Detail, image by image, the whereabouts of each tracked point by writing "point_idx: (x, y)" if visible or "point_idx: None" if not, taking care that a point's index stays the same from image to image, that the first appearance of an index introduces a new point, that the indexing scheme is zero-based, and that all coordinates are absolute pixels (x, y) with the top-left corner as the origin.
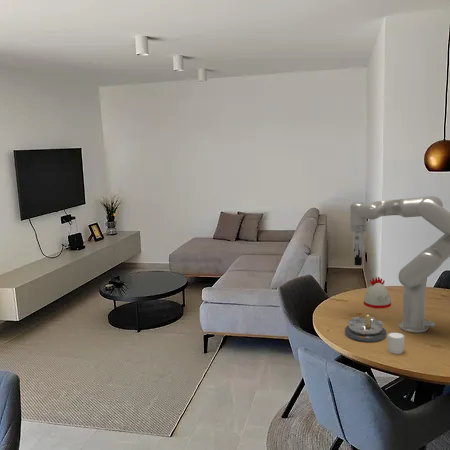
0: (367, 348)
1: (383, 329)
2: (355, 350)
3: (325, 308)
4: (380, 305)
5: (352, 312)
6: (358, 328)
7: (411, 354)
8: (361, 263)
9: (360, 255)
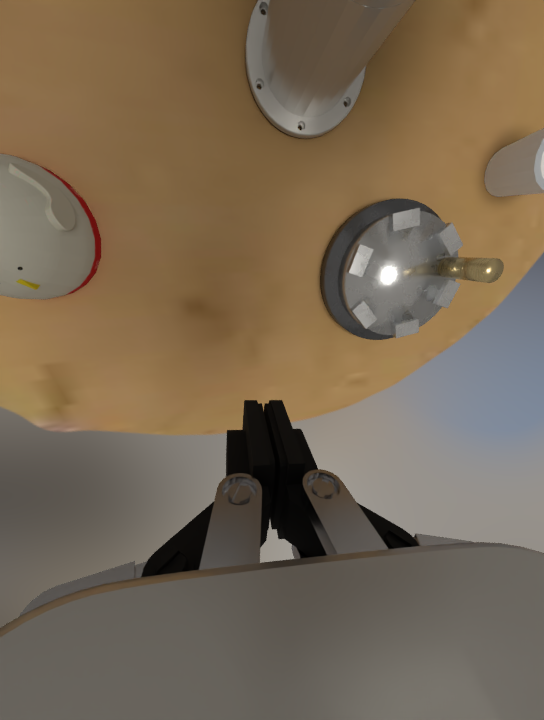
0: None
1: (382, 209)
2: (486, 296)
3: (176, 420)
4: (88, 217)
5: (188, 331)
6: (449, 299)
7: (533, 115)
8: (274, 408)
9: (355, 505)
